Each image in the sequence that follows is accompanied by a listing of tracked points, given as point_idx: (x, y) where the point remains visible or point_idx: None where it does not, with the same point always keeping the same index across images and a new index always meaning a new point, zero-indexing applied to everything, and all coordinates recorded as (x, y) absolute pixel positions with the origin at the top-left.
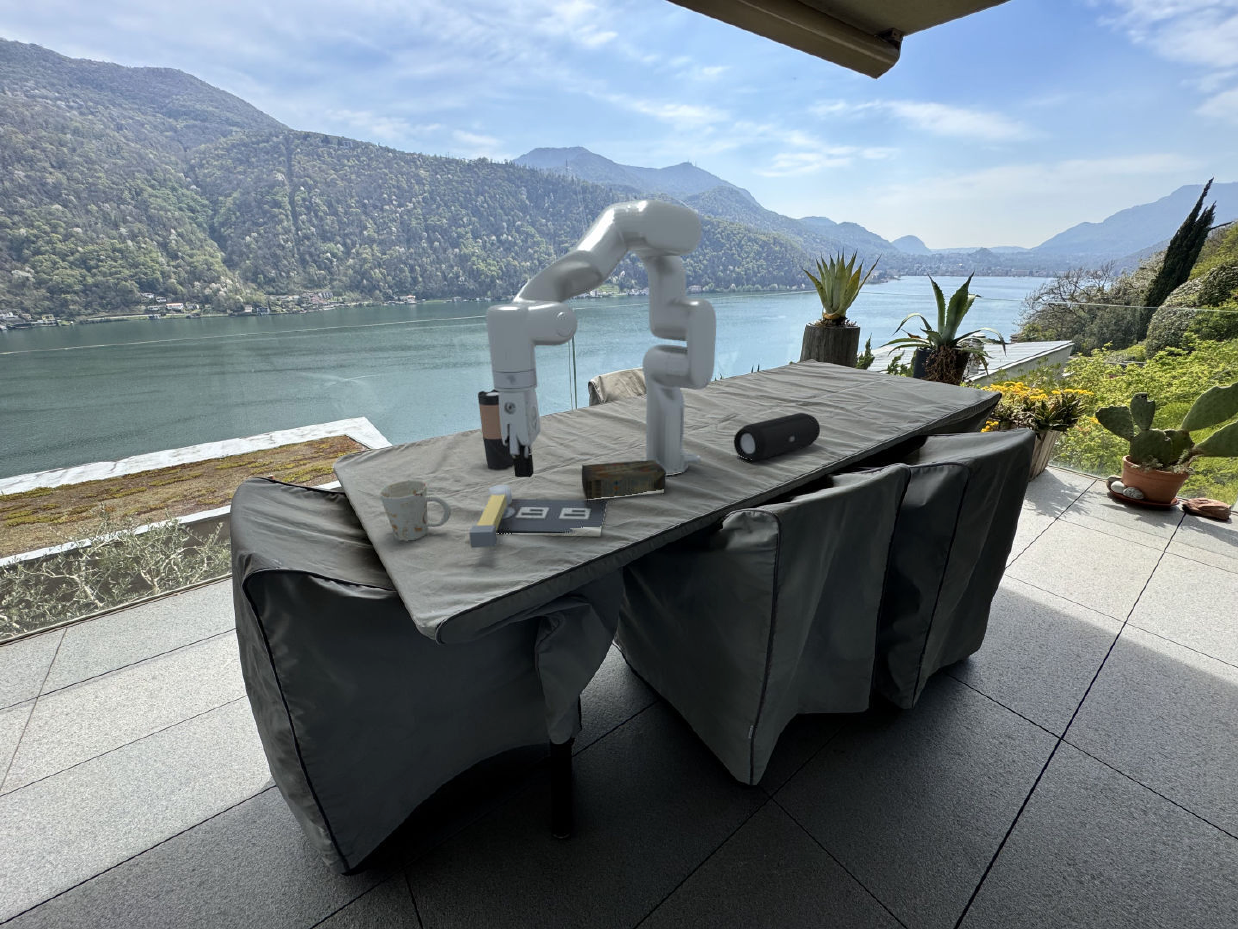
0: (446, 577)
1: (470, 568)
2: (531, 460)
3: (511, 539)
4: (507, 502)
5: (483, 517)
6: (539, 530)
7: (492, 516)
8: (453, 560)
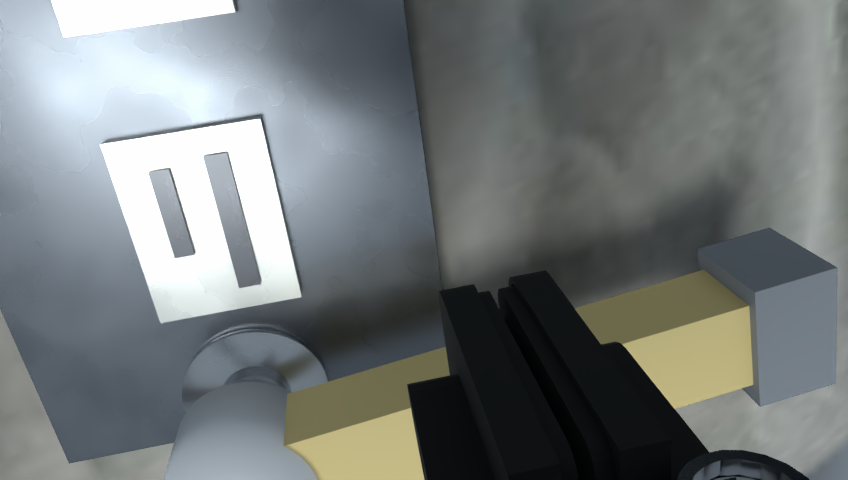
0: None
1: None
2: (524, 402)
3: (477, 226)
4: (278, 398)
5: None
6: (408, 94)
7: None
8: None
